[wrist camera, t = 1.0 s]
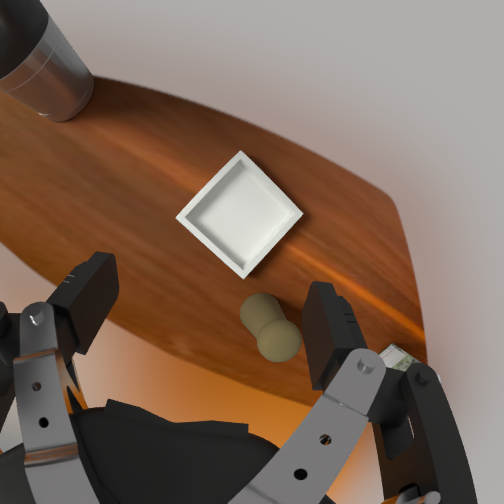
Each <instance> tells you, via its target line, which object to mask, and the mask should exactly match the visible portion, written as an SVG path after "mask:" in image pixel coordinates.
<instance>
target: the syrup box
mask: <svg viewBox="0 0 504 504" xmlns="http://www.w3.org/2000/svg"><path fill="white" fill-rule="evenodd" d="M379 356H380V357H381V358H382V359H383V361H384V362H385V365H386V367H389V368H393V369H397V370H402V371H406V370H407V368H408V367H409V366H410V365H411V364H413V363H417V362H418V363H421V362H419V361H418V360H416V359H415V358H413V357H412V356H411V355H409V354H408V353H406V352H405V351H403V350H402V349H400V348H399V347H397V346H396V345H395V344H393V343H392V344H390V345H389V346H388V347H387V348H386V349H385V350H383V351H382V352H381V353H380V354H379ZM436 374H437V373H436ZM437 376H438V378H439V381H440V383H441V379H440V376H439V375H438V374H437Z"/></svg>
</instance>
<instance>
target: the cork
mask: <svg viewBox="0 0 504 504" xmlns="http://www.w3.org/2000/svg"><path fill="white" fill-rule="evenodd" d="M240 318H241V321H242V323H243V324H244V325H245V327H246V328H247V329H248V330H249V331H250V332H251V333H252V334H253V336H254V337H255V338H256V339H257V346H258V349H259V351H260V353H261V355H263V356H264V357H265V358H266V359H267V360H270V361H272V362H284V361H287V360H289V359H291V358H292V357H294V356H295V355H296V354H297V352H298V351H299V349H300V346H301V343H302V338H301V334H300V331H299V329H298V328H297V327H296V326H295V325H294V324H293V323H292V322H290V321H288V320H286V317H285V315H284V313H283V311H282V309H281V307H280V305H279V303H278V301H277V300H276V299H275V298H274V296H272V295H270V294H267V293H257V294H254V295H252V296H250V297H249V298H247V299H246V300H245V301H244V303H243V305H242V306H241V310H240Z"/></svg>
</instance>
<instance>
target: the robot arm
mask: <svg viewBox="0 0 504 504" xmlns="http://www.w3.org/2000/svg"><path fill="white" fill-rule="evenodd" d="M93 89H94V79H93V76H92V74H91V73H90V71H89V70H88V68H87V67H86V66H85V65H84V63H83V61H82V60H81V59H80V57H79V56H78V54H77V53H76V52H75V50H74V49H73V47H72V46H71V45H70V43H69V42H68V40H67V39H66V38H65V36H64V35H63V33H62V32H61V31H60V29H59V28H58V26H57V25H56V24H55V22H54V21H53V19H52V18H51V16H50V15H49V14H48V12H47V11H46V9H45V8H44V7H43V5H42V3H41V2H40V0H0V91H2V92H4V93H6V94H7V95H9V96H11V97H12V98H14V99H16V100H17V101H19V102H21V103H22V104H24V105H26V106H28V107H29V108H31V109H33V110H34V111H36V112H38V113H39V114H41V115H43V116H44V117H46V118H48V119H49V120H51V121H55V122H62V121H66V120H68V119H70V118H73V117H74V116H75V115H77V114H78V113H79V112H80V111H81V110H82V109H83V108H84V107H85V106H86V105H87V103H88V101H89V100H90V98H91V96H92V93H93ZM118 294H119V281H118V274H117V267H116V259H115V256H114V254H111V253H104V252H95V253H94V254H93V256H92V257H91V258H90V259H89V260H88V261H87V262H86V261H85V262H83V263H81V264H80V265H78V266H76V267H75V268H74V269H73V270H72V271H71V272H70V274H69V276H67V277H66V278H65V279H64V282H62V283H61V284H60V285H59V286H58V287H57V289H56V290H55V291H54V292H53V293H52V295H51V296H50V297H49V298H48V300H47V301H46V302H36V303H33V304H30V305H29V306H27V307H26V308H25V309H24V310H23V311H22V313H8V311H7V308H6V306H5V304H4V303H3V302H1V301H0V432H1V430H2V427H3V424H4V422H5V419H6V417H7V414H8V412H9V410H10V407H11V405H12V403H13V400H14V398H15V396H16V402H17V409H18V416H19V422H20V428H21V433H22V438H23V443H21V444H19V445H17V446H15V447H14V448H12V449H10V450H8V451H6V452H4V453H3V452H2V450H1V449H0V504H336V503H335V502H334V501H332V500H331V499H330V498H329V497H328V496H327V495H326V492H327V491H328V489H329V488H330V486H331V485H332V483H333V482H334V480H335V479H336V477H337V476H338V474H339V472H340V471H341V469H342V468H343V466H344V464H345V463H346V461H347V459H348V458H349V456H350V454H351V452H352V451H353V449H354V447H355V445H356V443H357V441H358V439H359V438H360V436H361V434H362V432H363V430H364V428H365V426H366V424H367V422H372V427H373V432H374V437H375V442H376V448H377V454H378V460H379V466H380V472H381V479H382V486H383V494H384V501H383V502H382V503H381V504H478V503H477V498H476V493H475V488H474V484H473V479H472V475H471V471H470V467H469V464H468V460H467V456H466V453H465V450H464V446H463V443H462V440H461V437H460V434H459V431H458V428H457V425H456V422H455V419H454V417H453V414H452V411H451V409H450V406H449V403H448V401H447V398H446V395H445V393H444V391H443V388H442V386H441V383H440V381H439V378H438V376H437V374H436V373H435V371H434V370H433V369H432V368H431V367H429V366H428V365H426V364H424V363H418V362H417V363H413V364H411V365H410V366H409V367H408V368H407V370H406V371H402V370H397V369H393V368H389V367H386V365H385V362H384V361H383V359H382V358H381V357H380V356H379V355H378V354H377V353H375V352H373V351H371V350H368V347H367V345H366V342H365V340H364V337H363V335H362V332H361V330H360V327H359V325H358V323H357V320H356V317H355V316H354V312H353V310H352V308H351V305H350V304H349V303H348V302H347V301H346V300H345V299H344V298H343V297H342V296H337V294H336V292H335V289H334V287H333V284H332V283H327V282H318V281H313V282H312V284H311V286H310V289H309V292H308V296H307V299H306V302H305V305H304V308H303V311H302V316H301V327H302V332H303V337H304V343H305V349H306V354H307V360H308V366H309V371H310V377H311V383H312V389H313V390H323V394H322V395H321V397H320V398H319V400H318V401H317V402H316V404H315V405H314V407H313V408H312V409H311V411H310V412H309V413H308V415H307V416H306V418H305V419H304V420H303V421H302V423H301V424H300V425H299V426H298V428H297V429H296V430H295V432H294V433H293V434H292V435H291V437H290V438H289V439H288V440H287V441H286V443H285V444H284V445H283V446H282V447H281V449H280V448H278V447H277V446H276V445H274V444H273V443H271V442H269V441H268V440H266V439H264V438H262V437H259V436H257V435H254V434H251V433H248V424H244V423H232V422H221V421H212V420H211V421H199V422H182V423H174V422H170V421H168V420H166V419H164V418H161V417H159V416H157V415H155V414H152V413H151V412H149V411H146V410H144V409H142V408H140V407H137V406H133V405H129V404H126V403H122V402H118V401H115V400H111V399H108V400H107V403H106V406H105V407H94V408H88V406H87V404H86V401H85V399H84V396H83V393H82V389H81V386H80V382H79V379H78V375H77V371H76V367H75V364H74V360H73V358H72V357H73V355H74V353H75V352H77V353H80V354H83V355H86V353H87V351H88V349H89V347H90V345H91V344H92V342H93V340H94V338H95V336H96V335H97V333H98V331H99V329H100V327H101V325H102V324H103V322H104V320H105V319H106V317H107V315H108V313H109V312H110V310H111V308H112V306H113V305H114V303H115V301H116V300H117V297H118ZM408 418H410V421H411V425H412V429H413V433H414V438H413V434H412V431H411V427H410V423H409V420H408Z"/></svg>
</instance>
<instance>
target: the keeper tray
mask: <svg viewBox="0 0 504 504" xmlns="http://www.w3.org/2000/svg"><path fill="white" fill-rule="evenodd" d="M302 215H303V213H302V212H301V211H300V210H299V209H298V208H297V206H296V205H295V204H294V203H293V202H292V201H291V200H290V199H289V198H288V197H287V196H286V195H285V194H284V193H283V192H282V191H281V190H280V189H279V188H278V187H277V186H276V185H275V184H274V183H273V182H272V181H271V180H270V179H269V177H268V176H267V175H266V174H265V173H264V172H263V171H262V170H261V169H260V168H259V167H257V166H256V165H255V164H254V163H253V162H252V161H251V160H250V159H249V158H248V157H247V156H246V155H245V154H244V153H243V152H242V151H241V150H240V151H239V152H238V153H237V154H236V155H235V156H234V157H233V158H232V159H231V160H230V161H229V162H228V163H227V164H226V165H225V166H224V167H223V168H222V169H221V170H220V171H219V172H218V173H217V174H216V175H215V176H214V177H213V178H212V179H211V180H210V181H209V182H208V183H207V184H206V185H205V186H204V188H203V189H202V190H201V191H200V192H199V193H198V194H197V195H196V196H195V197H194V198H193V199H192V200H191V201H190V202H189V203H188V205H187V206H186V207H185V208H184V209H183V210H182V211H181V212H180V213H179V214H178V215H177V217H176V219H177V220H178V221H180V222H181V223H182V224H183V225H184V226H185V227H186V228H187V229H188V230H189V231H190V232H192V233H193V234H194V235H195V236H196V237H197V238H198V239H199V240H200V241H201V242H202V243H204V244H205V245H206V246H207V247H208V248H209V249H210V250H211V251H212V252H214V253H215V254H216V255H217V256H218V257H219V258H220V259H221V260H222V261H224V262H225V263H226V264H227V265H228V266H229V267H230V268H231V269H232V270H234V271H235V272H236V273H237V274H238V275H239V276H240V277H241V278H243V279H244V278H245V277H246V276H247V275H248V274H249V273H250V272H251V271H252V269H253V268H254V267H255V266H256V265H257V264H258V263H259V262H260V261H261V260H262V259H263V258H264V256H265V255H266V254H267V253H268V252H269V251H270V250H271V249H272V248H273V247H274V246H275V244H276V243H277V242H278V241H279V240H280V239H281V238H282V237H283V236H284V235H285V234H286V232H287V231H288V230H289V229H290V228H291V227H292V226H293V225H294V224H295V223H296V221H297V220H298V219H299V218H300V217H301V216H302Z"/></svg>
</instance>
